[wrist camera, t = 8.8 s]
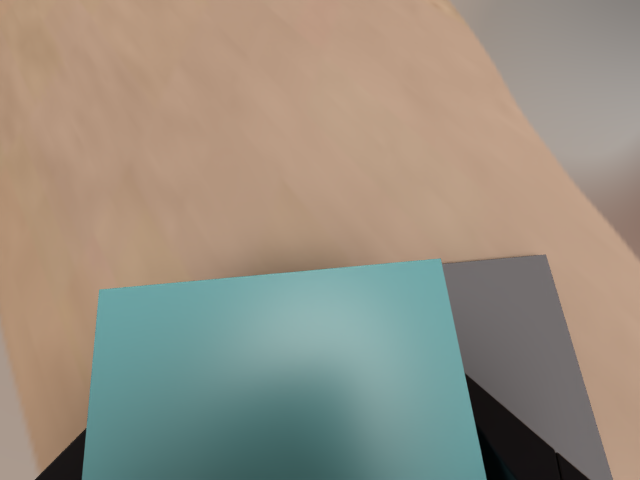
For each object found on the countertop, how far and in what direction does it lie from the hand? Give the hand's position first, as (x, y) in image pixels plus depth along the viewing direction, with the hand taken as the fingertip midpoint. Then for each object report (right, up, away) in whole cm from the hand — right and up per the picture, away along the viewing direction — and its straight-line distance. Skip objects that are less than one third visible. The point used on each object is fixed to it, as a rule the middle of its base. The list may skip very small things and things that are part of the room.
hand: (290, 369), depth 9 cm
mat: (+9, -3, +7) cm, 12 cm away
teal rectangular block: (0, -3, +6) cm, 6 cm away
